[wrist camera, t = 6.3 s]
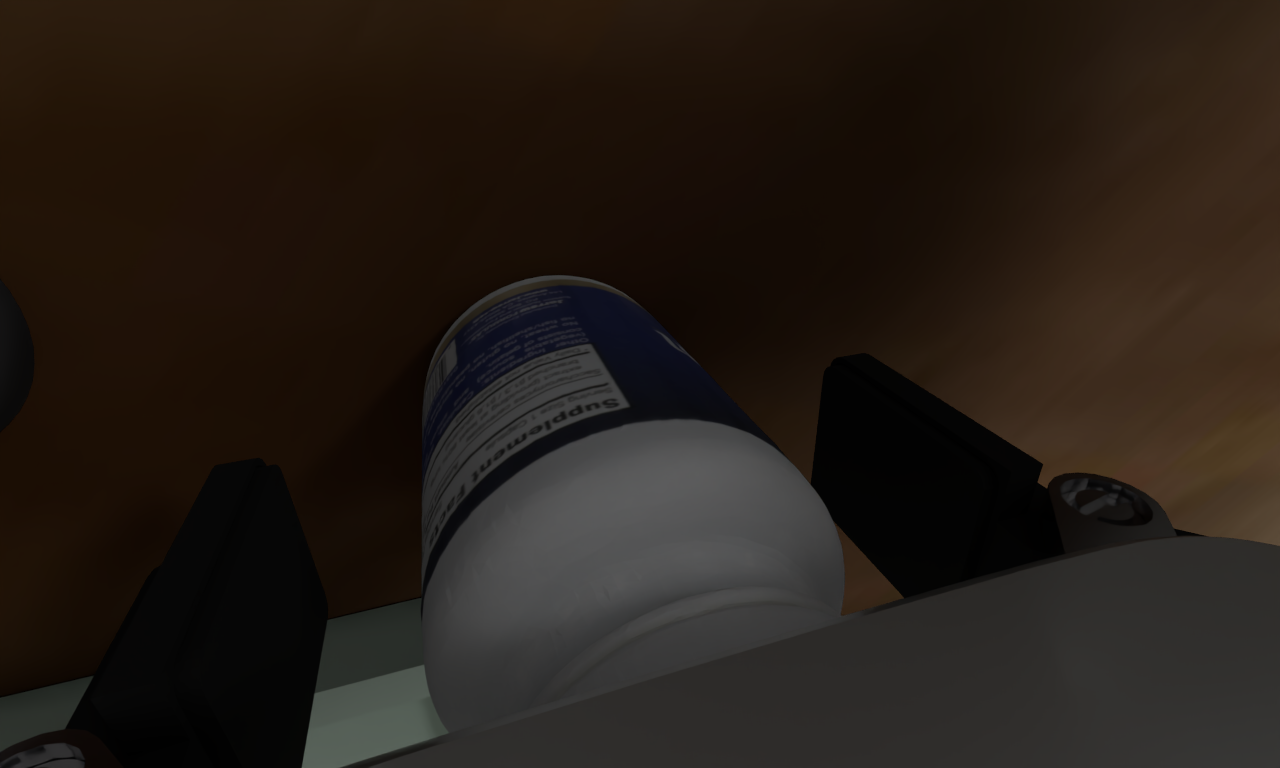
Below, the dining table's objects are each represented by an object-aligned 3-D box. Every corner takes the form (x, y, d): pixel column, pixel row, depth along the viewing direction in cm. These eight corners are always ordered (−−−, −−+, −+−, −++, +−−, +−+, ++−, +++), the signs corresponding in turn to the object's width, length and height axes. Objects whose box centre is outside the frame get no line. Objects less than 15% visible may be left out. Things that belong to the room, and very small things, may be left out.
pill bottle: (706, 405, 15) (1056, 816, 7) (522, 529, 15) (643, 1098, 7) (591, 215, 12) (948, 518, 4) (364, 367, 12) (235, 1001, 4)
